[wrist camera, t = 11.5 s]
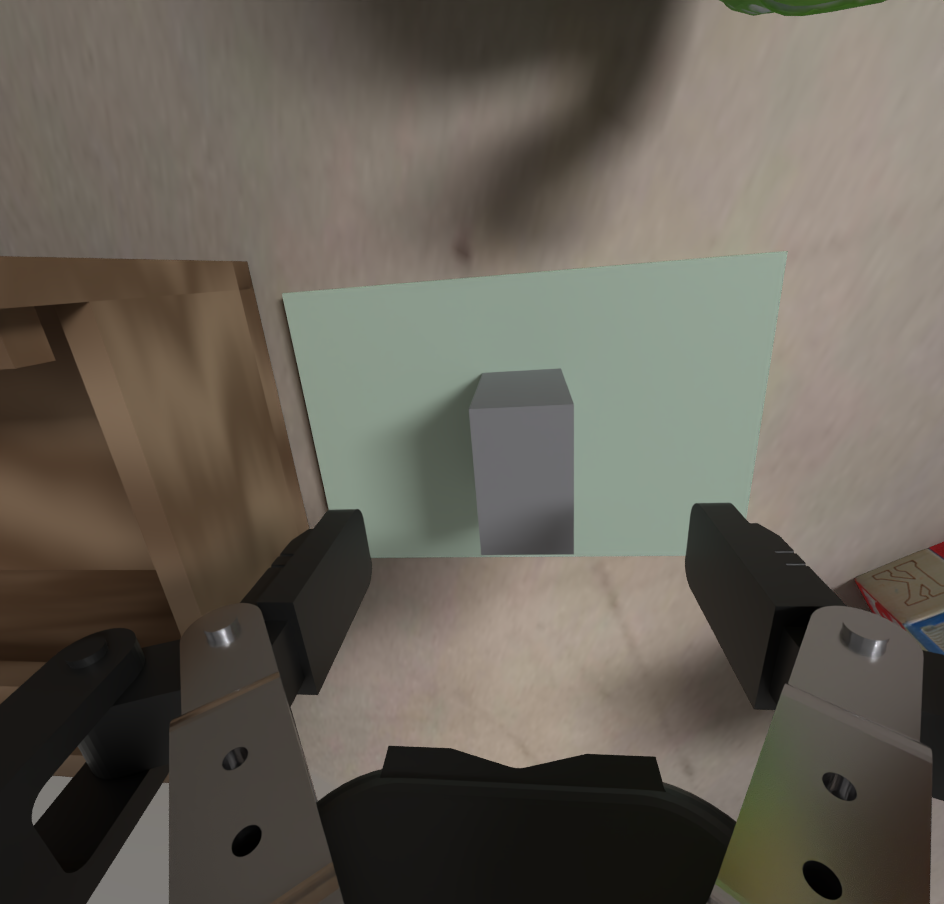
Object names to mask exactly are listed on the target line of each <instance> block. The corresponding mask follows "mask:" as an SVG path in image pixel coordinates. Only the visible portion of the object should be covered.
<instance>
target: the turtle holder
mask: <svg viewBox="0 0 944 904" xmlns="http://www.w3.org/2000/svg"><path fill="white" fill-rule="evenodd" d="M720 1H722V2H723V3H724V4H725V5H726V6H727V7H728V8H730V9H731V10H734V11H737V12H741V13H746V14H749V15H753V16H754V15H760V14H766V13H774V12H775V13H778V14H781V15H784V16H806V15H813V14H820V13H827V12H833V11H838V10H844V9H849V8H854V7H860V6H865V5H871V4H876V3H881V2H883V1H886V0H720Z"/></svg>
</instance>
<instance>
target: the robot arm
mask: <svg viewBox="0 0 944 904" xmlns="http://www.w3.org/2000/svg"><path fill="white" fill-rule="evenodd" d="M685 570H686V577H687V581H688V584H689V587H690V589H691V591H692V593H693V594H694V596H695V598H696V600H697V602H698V604H699V606H700V608H701V610H702V611H703V613H704V615H705V617H706V619H707V621H708V623H709V625H710V627H711V629H712V630H713V632H714V634H715V636H716V638H717V640H718V642H719V644H720V646H721V648H722V649H723V651H724V653H725V655H726V657H727V659H728V661H729V663H730V665H731V667H732V668H733V670H734V672H735V674H736V676H737V678H738V680H739V682H740V684H741V686H742V687H743V689H744V691H745V693H746V695H747V697H748V699H749V701H750V703H751V704H752V706H753V708H754V709H762V710H775V713H774V716H773V719H772V722H771V724H770V727H769V730H768V733H767V736H766V739H765V742H764V745H763V747H762V750H761V753H760V756H759V759H758V762H757V765H756V768H755V770H754V773H753V776H752V779H751V782H750V785H749V788H748V791H747V793H746V796H745V799H744V802H743V805H742V808H741V811H740V814H739V816H738V819H737V822H736V821H734V820H733V819H732V818H731V817H729V816H728V815H727V814H725V813H724V812H722V811H721V810H719V809H718V808H716V807H715V806H713V805H712V804H710V803H709V802H707V801H705V800H703V799H701V798H699V797H698V796H696V795H694V794H692V793H690V792H688V791H685V790H683V789H681V788H678V787H676V786H673V785H670V784H667V783H664V782H662V779H661V775H660V771H659V768H658V764H657V760H656V757H648V756H624V755H599V754H584V755H580V756H575V757H571V758H566V759H562V760H557V761H553V762H548V763H544V764H539V765H535V766H530V767H526V768H512V767H508V766H505V765H502V764H499V763H496V762H493V761H489V760H486V759H483V758H480V757H477V756H474V755H470V754H467V753H464V752H461V751H458V750H455V749H451V748H429V747H405V746H389V747H388V750H387V754H386V758H385V761H384V765H383V769H381V770H377V771H373V772H370V773H368V774H365V775H362V776H359V777H357V778H355V779H353V780H351V781H349V782H347V783H345V784H343V785H341V786H340V787H338V788H336V789H335V790H333V791H331V792H330V793H328V794H327V795H326V796H325V797H323V798H322V799H321V800H319V801H318V800H317V797H316V793H315V790H314V786H313V783H312V779H311V776H310V772H309V769H308V766H307V762H306V759H305V755H304V752H303V748H302V745H301V741H300V738H299V735H298V731H297V728H296V724H295V721H294V717H293V714H292V711H291V705H292V703H293V701H294V699H295V697H296V695H297V694H302V695H318V694H319V692H320V690H321V687H322V685H323V683H324V681H325V679H326V677H327V675H328V672H329V670H330V668H331V666H332V664H333V662H334V660H335V657H336V655H337V653H338V651H339V649H340V647H341V645H342V643H343V640H344V638H345V636H346V634H347V632H348V630H349V628H350V625H351V623H352V621H353V619H354V617H355V615H356V613H357V610H358V608H359V606H360V604H361V602H362V600H363V598H364V595H365V593H366V591H367V589H368V587H369V584H370V580H371V574H372V562H371V556H370V551H369V545H368V540H367V535H366V529H365V524H364V518H363V515H362V512H361V511H360V510H359V509H334V510H328V511H327V512H326V513H325V515H324V516H323V517H322V519H321V520H320V521H319V522H318V524H317V525H316V526H315V528H314V529H308V530H306V531H305V532H303V533H302V534H300V535H299V536H297V537H296V538H294V539H293V540H291V541H290V543H289V544H288V545H287V546H286V547H285V549H284V550H283V551H282V552H281V553H280V556H278V557H277V558H276V559H275V561H274V562H273V563H272V564H271V568H268V569H267V570H266V572H265V573H264V574H263V575H262V576H261V578H260V579H259V580H258V581H257V582H256V584H255V585H254V586H253V587H252V589H251V590H250V591H249V592H248V593H247V595H246V596H245V597H244V598H243V599H242V601H241V602H240V603H236V604H230V605H226V606H223V607H220V608H217V609H215V610H212V611H210V612H208V613H206V614H205V615H203V616H202V617H200V618H199V619H197V620H196V621H195V622H193V623H192V624H191V625H190V626H189V627H188V628H187V629H186V631H185V632H184V634H183V635H182V637H181V639H179V640H175V641H170V642H166V643H161V644H157V645H152V646H148V647H143V648H141V647H140V644H139V642H138V640H137V638H136V635H135V633H134V632H133V631H132V630H130V629H126V628H112V629H107V630H103V631H99V632H96V633H93V634H90V635H88V636H86V637H84V638H81V639H79V640H77V641H75V642H74V643H72V644H70V645H69V646H67V647H65V648H64V649H62V650H61V651H60V652H58V653H57V654H56V655H55V656H53V657H52V658H51V659H50V660H49V661H48V662H47V663H45V664H44V665H43V666H42V667H41V668H40V669H39V670H38V671H37V672H35V673H34V674H33V675H32V676H31V677H30V678H29V679H28V680H27V681H25V682H24V683H23V684H22V685H21V686H20V687H19V688H18V689H16V690H15V691H14V692H13V693H12V694H11V695H10V696H9V697H8V698H6V699H5V700H4V701H3V702H2V703H1V704H0V904H86V903H87V902H88V900H89V898H90V897H91V895H92V893H93V892H94V891H95V889H96V887H97V886H98V884H99V883H100V881H101V879H102V878H103V876H104V875H105V873H106V872H107V870H108V868H109V866H110V865H111V864H112V862H113V860H114V859H115V857H116V856H117V854H118V853H119V851H120V849H121V848H122V846H123V845H124V843H125V841H126V840H127V838H128V837H129V835H130V834H131V832H132V830H133V829H134V827H135V825H136V824H137V822H138V821H139V819H140V818H141V816H142V815H143V813H144V811H145V810H146V808H147V806H148V805H149V804H150V802H151V800H152V799H153V797H154V796H155V794H156V792H157V791H158V789H159V788H160V786H161V784H162V783H163V781H164V780H165V778H166V777H167V775H168V773H169V904H930V873H931V819H932V797H933V798H936V799H939V800H943V801H944V655H943V654H938V653H933V652H929V651H925V650H922V649H921V647H920V645H919V644H918V642H917V641H916V640H915V639H914V638H913V637H912V636H911V635H910V634H909V633H908V632H907V631H905V630H904V629H903V628H901V627H900V626H898V625H897V624H895V623H893V622H891V621H889V620H888V619H886V618H883V617H881V616H879V615H876V614H874V613H871V612H868V611H865V610H861V609H858V608H853V607H847V606H846V605H845V604H844V603H843V602H842V601H841V600H840V599H839V598H838V596H837V595H836V594H835V593H834V592H833V591H832V590H831V589H830V588H829V587H828V586H827V585H826V584H825V583H824V582H823V581H822V580H821V579H820V578H819V577H818V576H817V575H816V573H815V572H814V571H813V570H812V569H811V568H810V567H809V566H806V565H805V562H804V561H803V560H802V559H801V558H800V557H799V556H798V555H797V554H794V550H793V549H792V548H791V547H790V546H789V545H788V544H787V543H786V542H785V541H784V540H783V539H782V538H781V537H780V536H779V535H777V534H775V533H774V532H772V531H770V530H768V529H767V528H765V527H763V526H761V525H760V524H758V523H749V522H748V521H747V520H746V519H745V518H744V516H743V515H742V514H741V513H740V512H739V511H738V510H737V509H736V507H735V506H734V505H733V504H732V503H729V502H727V503H695V504H694V505H693V506H692V509H691V514H690V522H689V531H688V540H687V548H686V557H685ZM77 746H78V748H79V750H80V752H81V753H82V755H83V757H84V759H85V760H86V762H85V764H84V765H83V766H82V767H81V769H80V770H79V771H78V772H77V773H76V775H75V776H74V777H73V778H72V780H71V781H70V782H69V783H68V785H67V786H66V787H65V788H64V790H63V791H62V792H61V793H60V794H59V796H58V797H57V798H56V799H55V800H54V802H53V803H52V804H51V806H50V807H49V808H48V809H47V810H46V812H45V813H44V814H43V815H42V817H41V818H40V819H39V820H38V821H37V823H36V824H35V825H34V826H33V824H32V809H33V806H34V803H35V800H36V798H37V796H38V794H39V792H40V791H41V789H42V788H43V786H44V785H45V784H46V782H47V781H48V780H49V779H50V778H51V777H52V775H53V774H54V773H55V772H56V771H57V770H58V768H59V767H60V766H61V765H62V764H63V763H64V761H65V760H66V759H67V758H68V757H69V756H70V754H71V753H72V752H73V751H74V750H75V749H76V747H77Z"/></svg>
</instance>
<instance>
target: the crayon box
mask: <svg viewBox="0 0 944 904" xmlns="http://www.w3.org/2000/svg"><path fill="white" fill-rule="evenodd" d="M308 529H309V526H308V522H307V517H306V513H305V509H304V504H303V500H302V496H301V492H300V487H299V483H298V479H297V474H296V470H295V466H294V461H293V457H292V453H291V448H290V444H289V440H288V436H287V431H286V427H285V423H284V418H283V414H282V410H281V405H280V401H279V397H278V393H277V388H276V384H275V380H274V375H273V371H272V367H271V362H270V358H269V354H268V350H267V345H266V341H265V337H264V332H263V328H262V324H261V319H260V315H259V311H258V306H257V302H256V298H255V294H254V289H253V285H252V281H251V276H250V272H249V268H248V263H247V262H242V261H196V260H149V259H103V258H56V257H9V256H0V704H1V703H2V702H3V701H4V700H5V699H6V698H8V697H9V696H10V695H11V694H12V693H13V692H14V691H15V690H16V689H18V688H19V687H20V686H21V685H22V684H23V683H24V682H25V681H27V680H28V679H29V678H30V677H31V676H32V675H33V674H34V673H35V672H37V671H38V670H39V669H40V668H41V667H42V666H43V665H44V664H45V663H47V662H48V661H49V660H50V659H51V658H52V657H53V656H55V655H56V654H57V653H58V652H60V651H61V650H62V649H64V648H65V647H67V646H69V645H70V644H72V643H74V642H75V641H77V640H79V639H81V638H84V637H86V636H88V635H90V634H93V633H96V632H99V631H103V630H107V629H112V628H126V629H130V630H132V631H133V632H134V633H135V635H136V638H137V640H138V642H139V644H140V647H141V648H143V647H148V646H152V645H157V644H161V643H166V642H170V641H175V640H179V639H181V637H182V635H183V634H184V632H185V631H186V629H187V628H188V627H189V626H190V625H191V624H192V623H193V622H195V621H196V620H197V619H199V618H200V617H202V616H203V615H205V614H206V613H208V612H210V611H212V610H215V609H217V608H220V607H223V606H226V605H230V604H236V603H240V602H241V601H242V599H243V598H244V597H245V596H246V595H247V593H248V592H249V591H250V590H251V589H252V587H253V586H254V585H255V584H256V582H257V581H258V580H259V579H260V578H261V576H262V575H263V574H264V573H265V572H266V570H267V569H268V568H271V564H272V563H273V562H274V561H275V559H276V558H277V557H278V556H280V553H281V552H282V551H283V550H284V549H285V547H286V546H287V545H288V544H289V543H290V541H291V540H293V539H294V538H296V537H297V536H299V535H300V534H302V533H303V532H305V531H306V530H308ZM85 762H86V760H85V759H84V757H83V755H82V753H81V752H80V750H79V748H78V746H77V747H76V749H75V750H74V751H73V752H72V753H71V754H70V756H69V757H68V758H67V759H66V760H65V761H64V763H63V764H62V765H61V766H60V767H59V768H58V770H57V771H56V772H55V773H54V774H53V775H52V776H65V777H74V776H75V775H76V773H77V772H78V771H79V770H80V769H81V767H82V766H83V765H84V764H85ZM163 783H169V773H168V775H167V777H166V778H165V780H164V781H163Z"/></svg>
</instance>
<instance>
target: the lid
mask: <svg viewBox="0 0 944 904" xmlns="http://www.w3.org/2000/svg"><path fill="white" fill-rule="evenodd" d="M787 252H788V251H783V252H769V253H758V254H746V255H734V256H722V257H710V258H698V259H686V260H674V261H662V262H650V263H638V264H626V265H614V266H602V267H590V268H579V269H567V270H555V271H543V272H531V273H519V274H507V275H495V276H483V277H471V278H459V279H447V280H435V281H423V282H411V283H400V284H388V285H376V286H364V287H352V288H340V289H328V290H316V291H304V292H292V293H282V297H283V301H284V306H285V310H286V315H287V320H288V324H289V329H290V333H291V338H292V343H293V347H294V352H295V356H296V361H297V366H298V370H299V375H300V379H301V384H302V389H303V393H304V398H305V403H306V407H307V412H308V416H309V421H310V426H311V430H312V435H313V439H314V444H315V449H316V453H317V458H318V462H319V467H320V472H321V476H322V481H323V485H324V490H325V495H326V499H327V504H328V508H329V510H334V509H359V510H360V511H361V512H362V515H363V518H364V524H365V529H366V535H367V540H368V545H369V551H370V556H371V558H424V557H564V556H686V548H687V540H688V531H689V522H690V514H691V509H692V506H693V505H694V504H695V503H727V502H729V503H732V504H733V505H734V506H735V507H736V509H737V510H738V511H739V512H740V513H741V514H742V515H743V516H744V518H745V519H746V516H747V510H748V504H749V497H750V491H751V484H752V478H753V471H754V465H755V458H756V452H757V446H758V439H759V433H760V426H761V420H762V413H763V407H764V400H765V394H766V388H767V381H768V375H769V368H770V362H771V355H772V349H773V342H774V336H775V330H776V323H777V317H778V310H779V304H780V297H781V291H782V285H783V278H784V272H785V265H786V259H787Z"/></svg>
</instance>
